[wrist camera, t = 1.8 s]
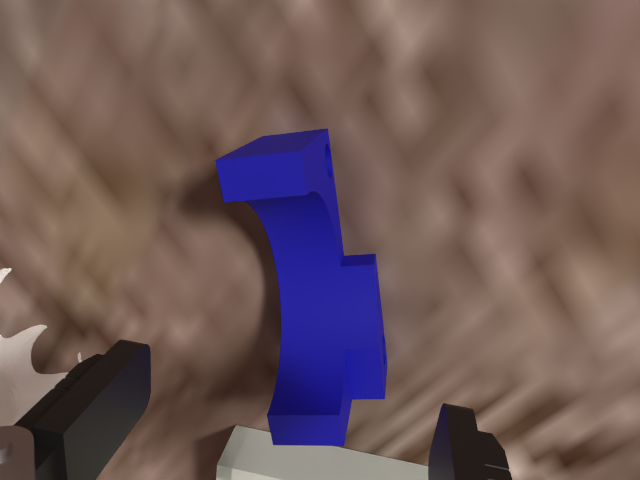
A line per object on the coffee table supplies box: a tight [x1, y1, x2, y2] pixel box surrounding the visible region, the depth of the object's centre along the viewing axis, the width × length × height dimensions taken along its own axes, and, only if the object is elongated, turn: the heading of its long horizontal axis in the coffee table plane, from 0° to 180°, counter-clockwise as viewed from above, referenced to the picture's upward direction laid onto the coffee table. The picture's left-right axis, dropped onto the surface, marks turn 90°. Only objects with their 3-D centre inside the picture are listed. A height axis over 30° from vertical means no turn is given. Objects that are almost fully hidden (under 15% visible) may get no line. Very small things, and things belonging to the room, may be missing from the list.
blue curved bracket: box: [215, 129, 387, 446], centre depth 21 cm, size 12×4×6 cm, turn 8°
